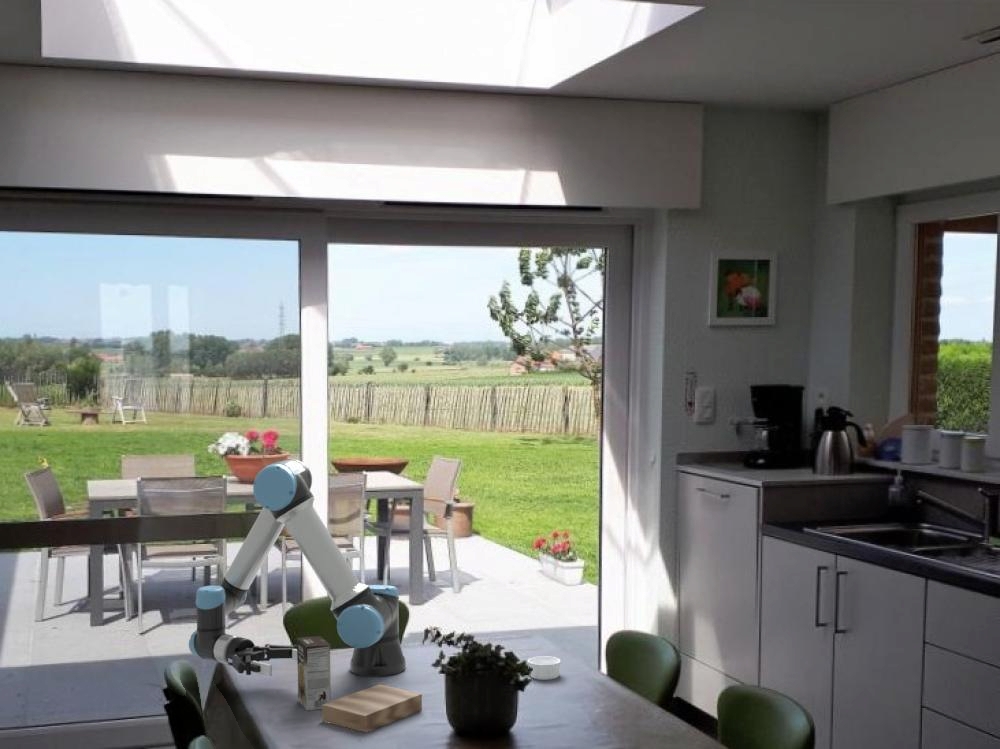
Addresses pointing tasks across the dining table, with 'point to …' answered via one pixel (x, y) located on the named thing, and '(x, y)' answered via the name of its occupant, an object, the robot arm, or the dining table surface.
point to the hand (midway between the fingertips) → (291, 664)
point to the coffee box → (313, 672)
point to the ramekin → (544, 667)
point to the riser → (372, 707)
